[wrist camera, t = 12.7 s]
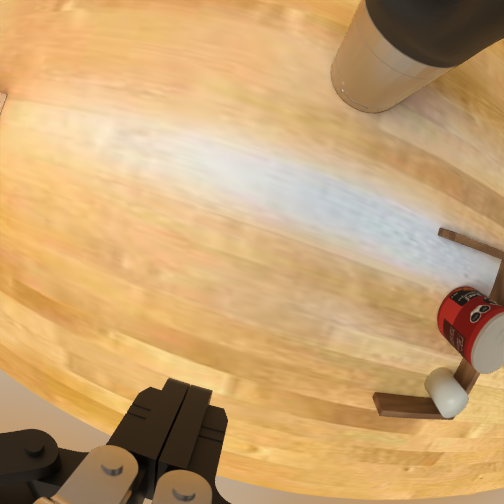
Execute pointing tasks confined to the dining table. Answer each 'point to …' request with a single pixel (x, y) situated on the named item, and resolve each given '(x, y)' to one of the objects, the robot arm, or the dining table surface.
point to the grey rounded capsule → (446, 392)
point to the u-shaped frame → (465, 372)
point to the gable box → (2, 100)
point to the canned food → (474, 328)
